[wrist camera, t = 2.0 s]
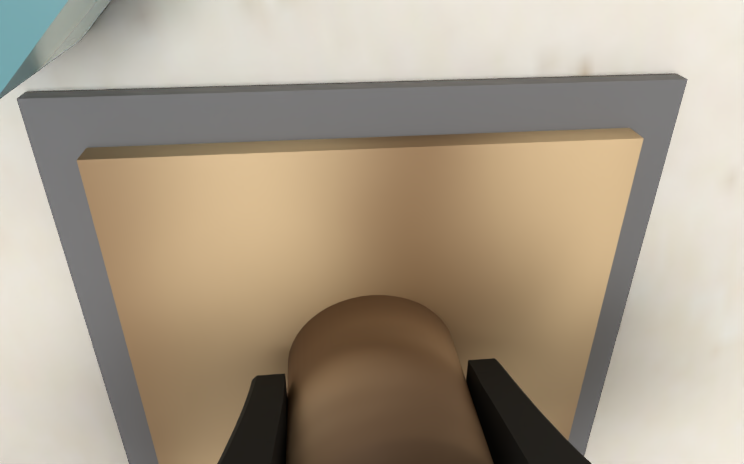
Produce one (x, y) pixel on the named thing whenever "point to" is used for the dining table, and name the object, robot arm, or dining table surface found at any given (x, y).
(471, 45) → the dining table surface
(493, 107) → the rubber mat
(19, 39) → the teal bowl
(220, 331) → the oak lid
